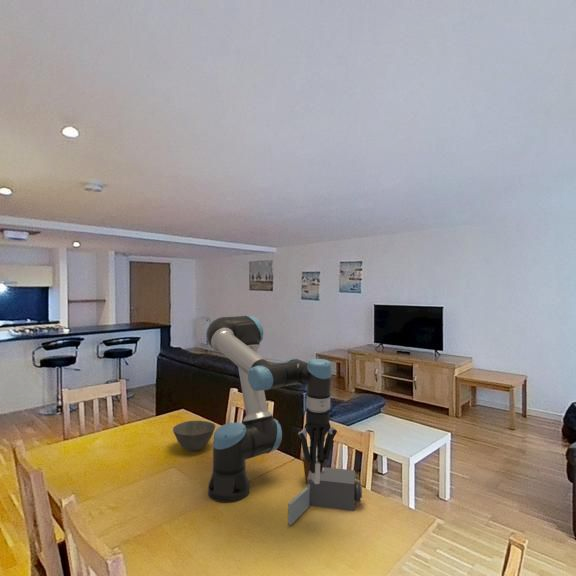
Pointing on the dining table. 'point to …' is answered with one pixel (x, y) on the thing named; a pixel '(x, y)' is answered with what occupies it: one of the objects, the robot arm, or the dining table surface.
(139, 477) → the dining table surface
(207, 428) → the bowl
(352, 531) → the dining table surface
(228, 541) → the dining table surface
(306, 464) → the disposable coffee cup
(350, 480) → the camera block
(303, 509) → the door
